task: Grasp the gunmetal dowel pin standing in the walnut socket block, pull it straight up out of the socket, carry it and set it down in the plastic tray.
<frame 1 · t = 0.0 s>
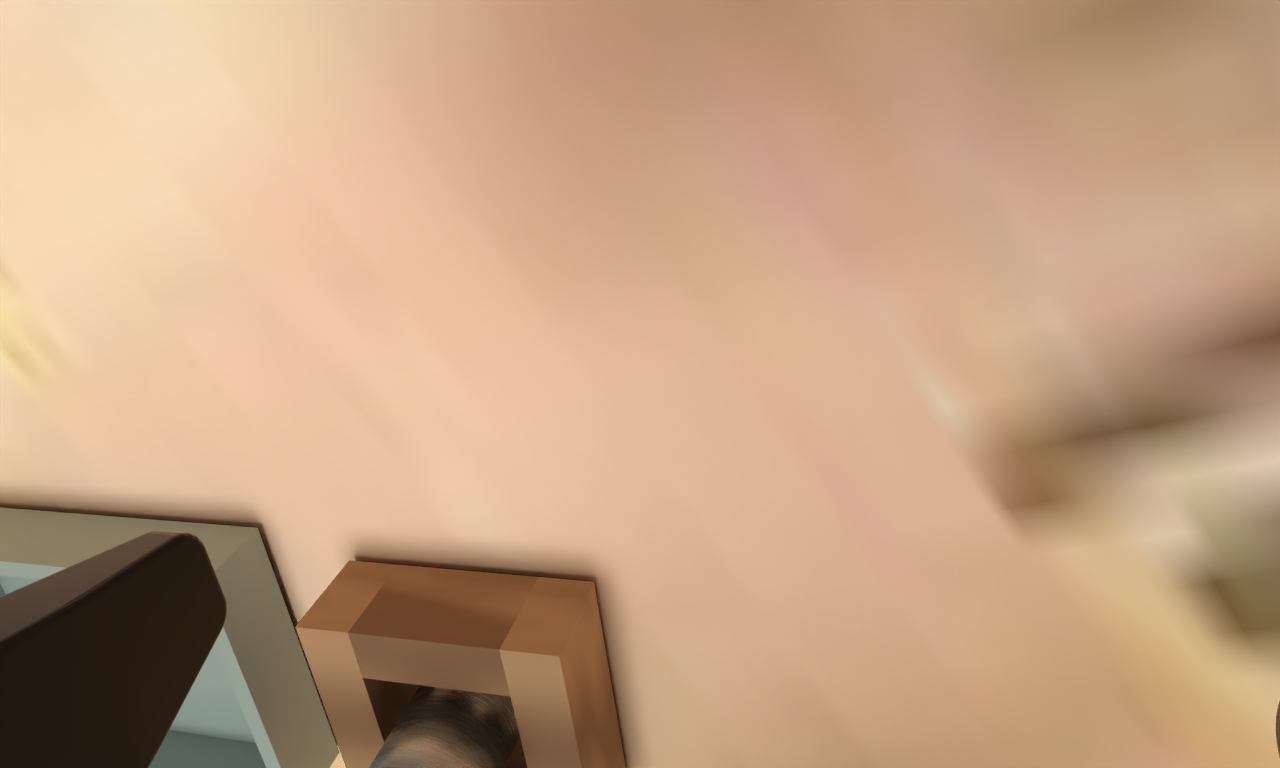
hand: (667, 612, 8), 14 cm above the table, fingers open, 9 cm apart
socket block: (491, 670, 31), on the table
tray: (155, 630, 34), on the table
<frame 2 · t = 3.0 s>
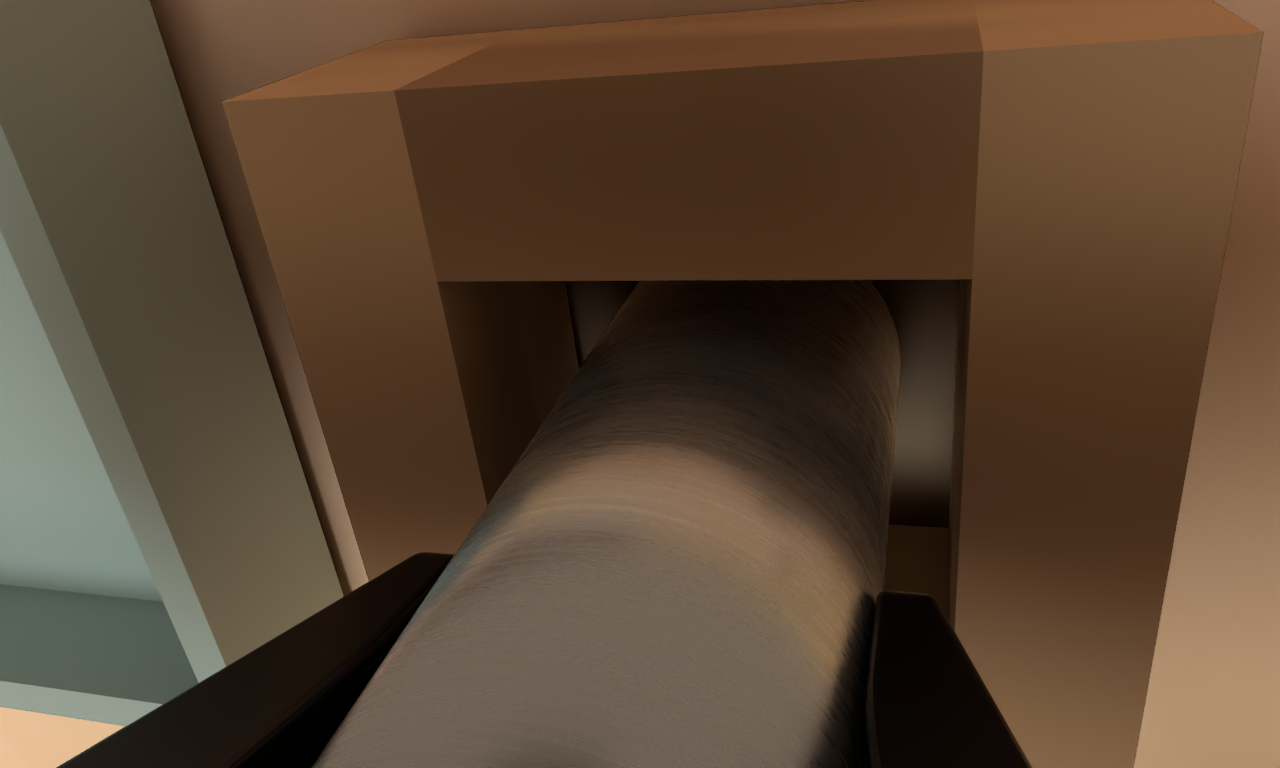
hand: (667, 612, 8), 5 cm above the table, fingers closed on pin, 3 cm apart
socket block: (755, 361, 12), on the table
pin: (681, 570, 8), in the socket block, touching gripper
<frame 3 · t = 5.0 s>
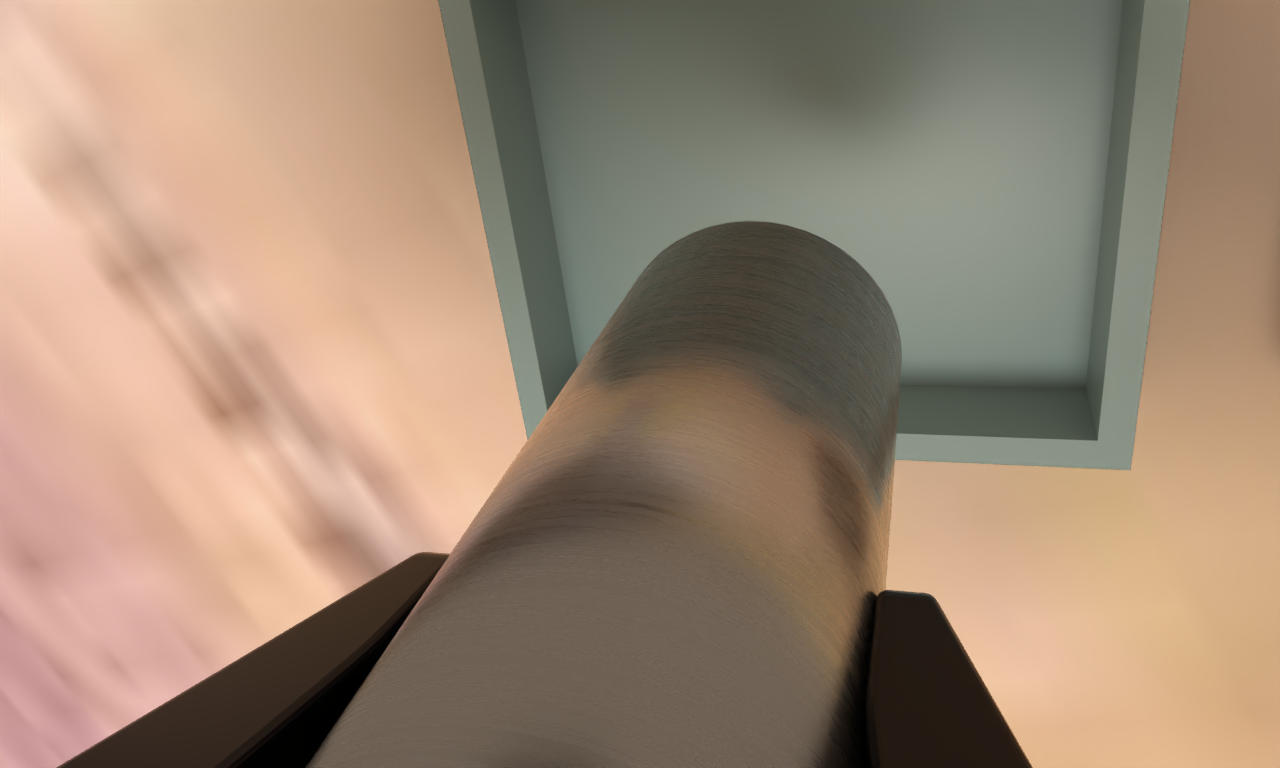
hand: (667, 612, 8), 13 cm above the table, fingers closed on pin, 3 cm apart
tray: (807, 175, 20), on the table
pin: (681, 566, 8), point 13 cm above the table, touching gripper
when the fingers open (6 cm above the table, at t = 6.9 s): pin drops 1 cm, resting on tray.
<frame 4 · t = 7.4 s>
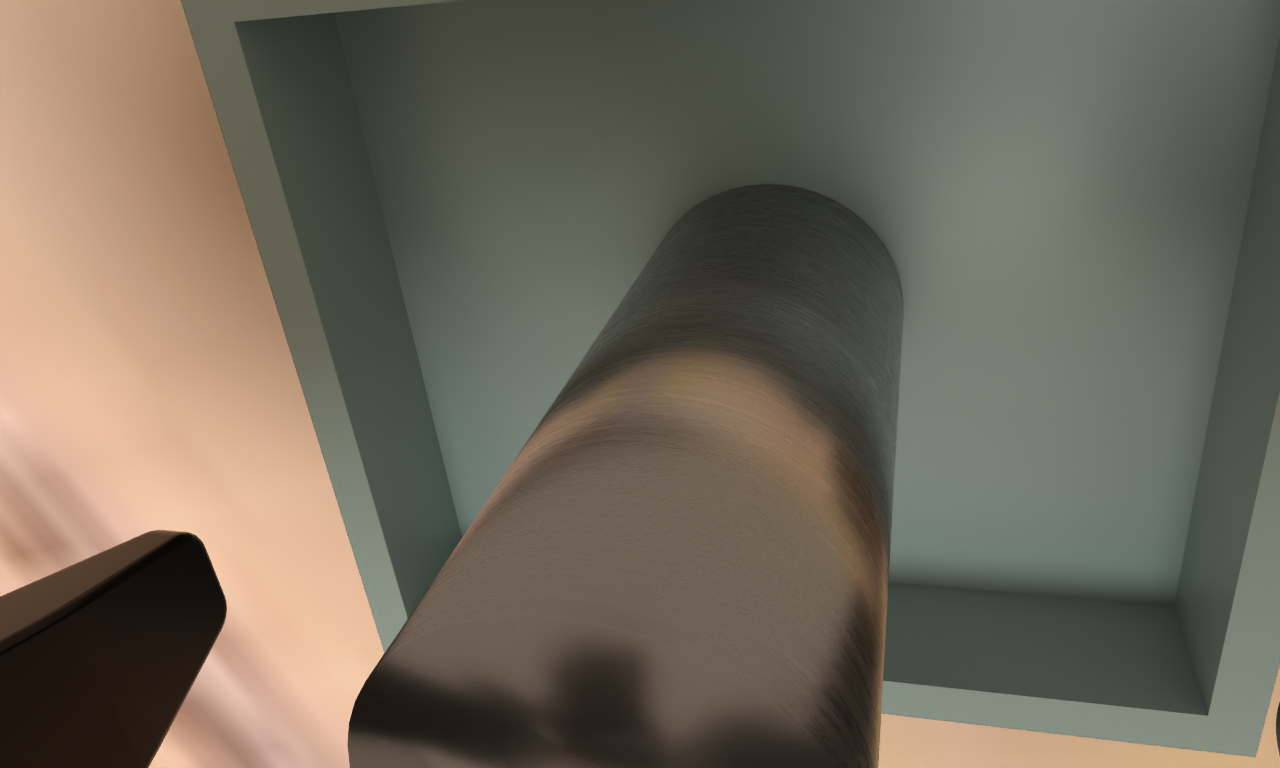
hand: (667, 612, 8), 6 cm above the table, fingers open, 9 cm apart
tray: (775, 295, 13), on the table
pin: (714, 475, 9), in the tray, point 5 cm above the table
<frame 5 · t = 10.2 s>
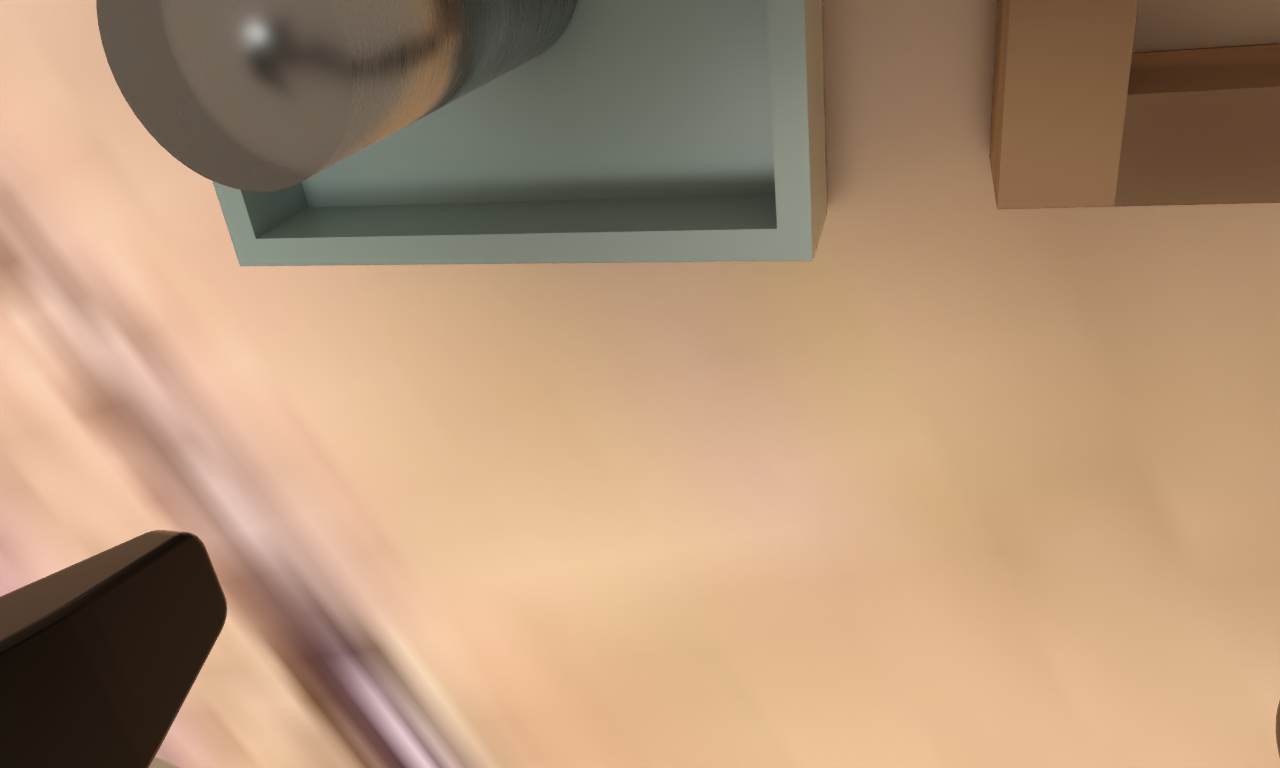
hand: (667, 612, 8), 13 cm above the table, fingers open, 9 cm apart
pin: (388, 2, 15), in the tray, point 5 cm above the table
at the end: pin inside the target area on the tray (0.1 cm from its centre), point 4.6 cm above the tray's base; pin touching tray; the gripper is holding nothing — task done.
